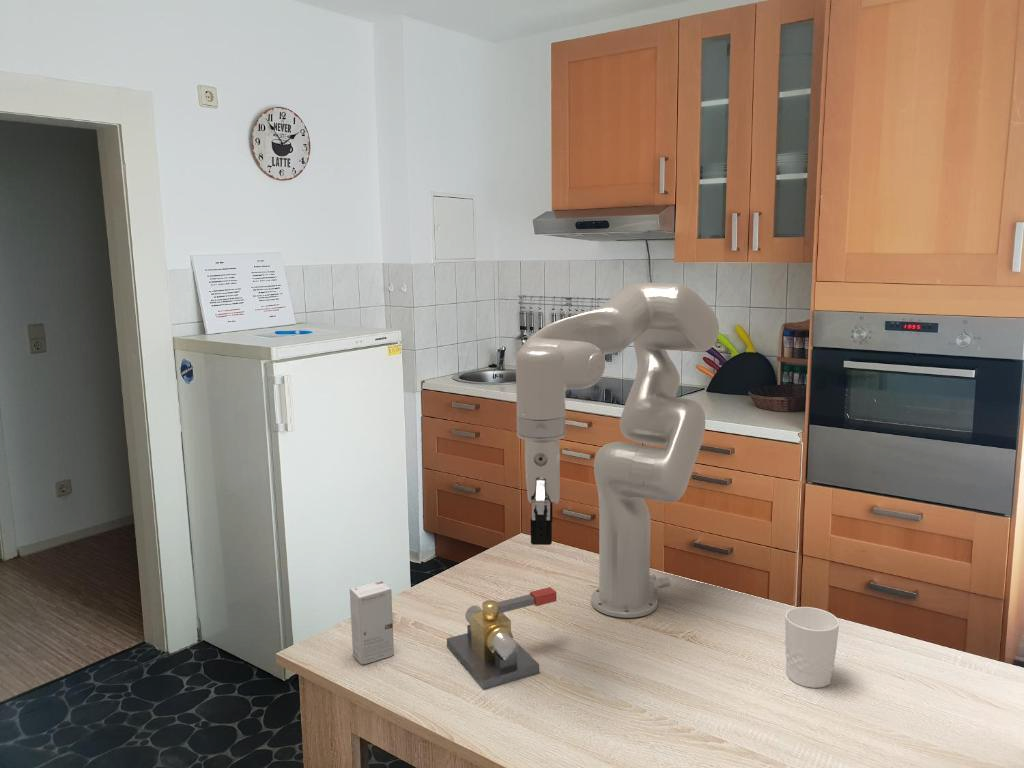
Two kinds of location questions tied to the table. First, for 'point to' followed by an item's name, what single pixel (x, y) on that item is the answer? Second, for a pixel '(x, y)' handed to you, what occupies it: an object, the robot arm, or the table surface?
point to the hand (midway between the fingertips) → (542, 532)
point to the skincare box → (371, 622)
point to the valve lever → (518, 602)
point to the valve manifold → (491, 650)
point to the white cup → (810, 646)
